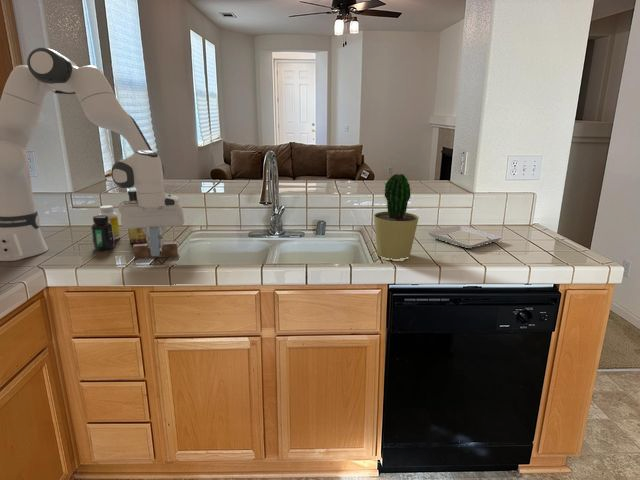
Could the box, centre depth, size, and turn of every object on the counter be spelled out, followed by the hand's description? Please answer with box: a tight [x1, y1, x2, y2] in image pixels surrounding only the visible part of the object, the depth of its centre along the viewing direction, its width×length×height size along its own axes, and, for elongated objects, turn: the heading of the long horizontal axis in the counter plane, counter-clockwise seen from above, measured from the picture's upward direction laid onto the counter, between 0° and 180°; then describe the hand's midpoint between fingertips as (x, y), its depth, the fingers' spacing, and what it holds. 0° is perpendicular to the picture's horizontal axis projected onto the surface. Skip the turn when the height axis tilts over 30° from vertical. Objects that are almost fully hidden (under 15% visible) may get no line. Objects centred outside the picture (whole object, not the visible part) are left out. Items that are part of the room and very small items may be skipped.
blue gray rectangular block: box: [148, 227, 162, 256], centre depth 149 cm, size 2×12×9 cm, turn 16°
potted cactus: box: [373, 173, 419, 259], centre depth 150 cm, size 15×15×30 cm
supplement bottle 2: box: [90, 214, 116, 252], centre depth 156 cm, size 7×7×12 cm
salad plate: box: [427, 225, 503, 249], centre depth 173 cm, size 21×21×3 cm
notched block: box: [132, 241, 179, 260], centre depth 149 cm, size 14×2×4 cm, turn 106°
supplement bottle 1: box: [98, 205, 121, 241], centre depth 168 cm, size 7×7×13 cm
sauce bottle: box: [127, 189, 147, 244], centre depth 164 cm, size 6×6×20 cm
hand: (155, 239), depth 149 cm, fingers closed on blue gray rectangular block, 2 cm apart
